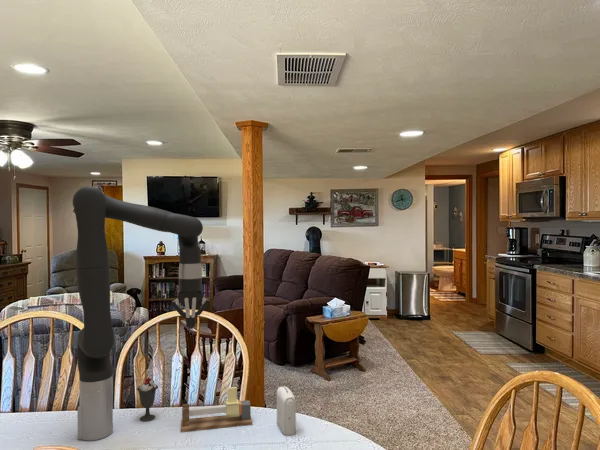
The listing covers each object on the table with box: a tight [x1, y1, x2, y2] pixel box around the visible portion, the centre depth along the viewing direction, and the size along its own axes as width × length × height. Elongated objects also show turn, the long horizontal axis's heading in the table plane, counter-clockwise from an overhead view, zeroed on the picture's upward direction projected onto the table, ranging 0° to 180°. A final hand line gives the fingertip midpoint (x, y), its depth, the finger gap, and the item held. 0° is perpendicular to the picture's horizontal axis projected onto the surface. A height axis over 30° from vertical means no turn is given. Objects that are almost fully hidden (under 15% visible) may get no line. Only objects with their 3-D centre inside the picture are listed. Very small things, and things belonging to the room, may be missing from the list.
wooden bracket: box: [180, 403, 253, 433], centre depth 142 cm, size 22×7×6 cm, turn 103°
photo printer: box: [276, 385, 297, 436], centre depth 138 cm, size 10×4×12 cm, turn 17°
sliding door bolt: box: [189, 399, 252, 420], centre depth 142 cm, size 21×4×5 cm, turn 103°
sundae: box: [136, 374, 159, 422], centre depth 147 cm, size 7×7×15 cm
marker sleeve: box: [225, 386, 240, 417], centre depth 143 cm, size 4×4×8 cm
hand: (190, 328), depth 149 cm, fingers closed
